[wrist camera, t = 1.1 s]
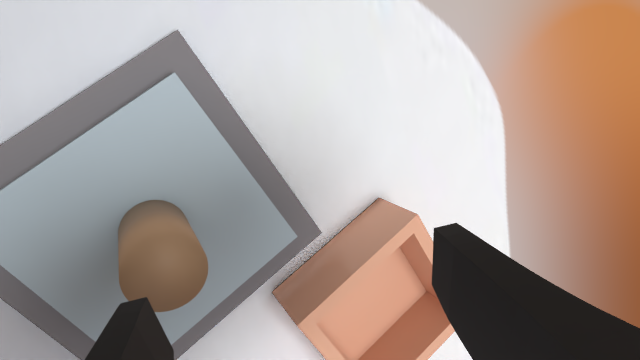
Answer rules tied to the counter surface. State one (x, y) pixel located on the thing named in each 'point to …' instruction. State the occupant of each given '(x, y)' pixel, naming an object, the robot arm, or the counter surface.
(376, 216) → the tray
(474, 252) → the robot arm
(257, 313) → the counter surface
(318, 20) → the counter surface
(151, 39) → the counter surface
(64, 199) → the lid
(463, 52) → the counter surface
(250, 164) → the mat
